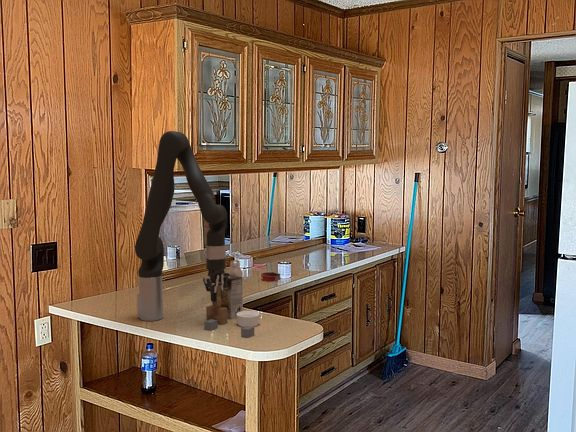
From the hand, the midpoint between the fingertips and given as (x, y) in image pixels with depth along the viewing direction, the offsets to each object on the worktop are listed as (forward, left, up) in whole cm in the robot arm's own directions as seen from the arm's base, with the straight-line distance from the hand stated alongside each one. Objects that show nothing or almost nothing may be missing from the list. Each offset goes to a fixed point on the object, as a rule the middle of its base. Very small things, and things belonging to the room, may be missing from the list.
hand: (216, 300), depth 242 cm
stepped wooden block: (0, 0, -9) cm, 9 cm away
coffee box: (-2, +11, -9) cm, 14 cm away
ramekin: (+12, +4, -9) cm, 16 cm away
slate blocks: (+12, -8, -9) cm, 17 cm away
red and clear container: (-26, +77, -9) cm, 82 cm away
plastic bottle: (-8, +22, -9) cm, 25 cm away
